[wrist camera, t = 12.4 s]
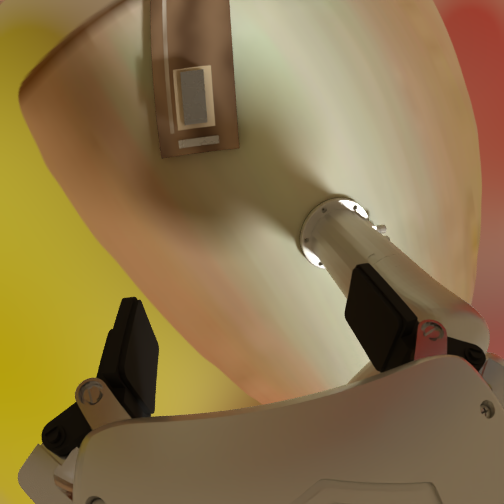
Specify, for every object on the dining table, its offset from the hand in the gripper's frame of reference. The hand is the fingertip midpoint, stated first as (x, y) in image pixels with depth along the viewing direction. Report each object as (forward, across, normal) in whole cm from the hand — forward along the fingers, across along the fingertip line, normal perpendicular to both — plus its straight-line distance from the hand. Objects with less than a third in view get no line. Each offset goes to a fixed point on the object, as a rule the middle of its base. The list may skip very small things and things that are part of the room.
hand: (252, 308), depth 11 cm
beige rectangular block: (+26, +2, -10) cm, 28 cm away
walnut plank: (+28, +2, -18) cm, 34 cm away
